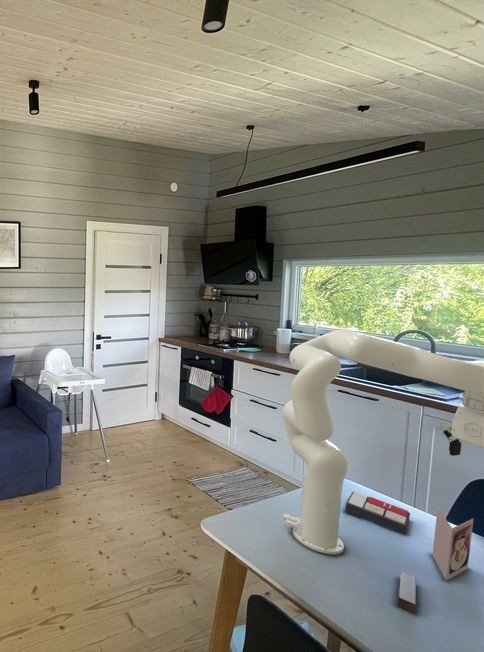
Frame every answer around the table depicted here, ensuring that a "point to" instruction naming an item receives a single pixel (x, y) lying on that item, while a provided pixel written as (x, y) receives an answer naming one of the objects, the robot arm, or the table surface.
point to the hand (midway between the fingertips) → (476, 462)
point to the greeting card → (451, 546)
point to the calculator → (378, 512)
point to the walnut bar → (407, 592)
